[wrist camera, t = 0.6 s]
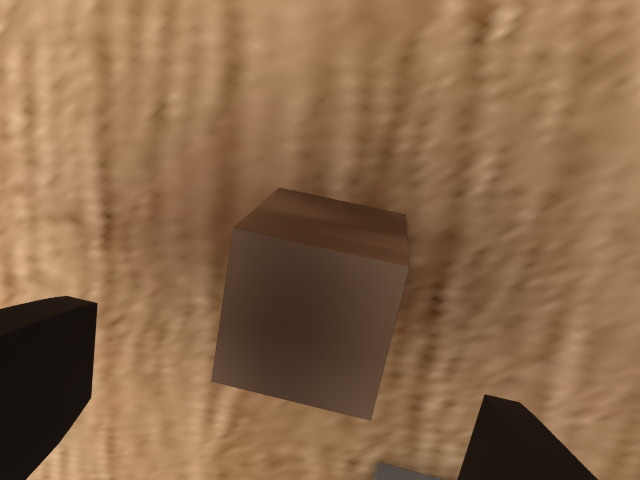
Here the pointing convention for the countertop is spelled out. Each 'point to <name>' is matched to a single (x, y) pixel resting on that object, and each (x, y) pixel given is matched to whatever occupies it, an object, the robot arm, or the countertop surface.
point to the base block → (398, 474)
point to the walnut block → (312, 301)
